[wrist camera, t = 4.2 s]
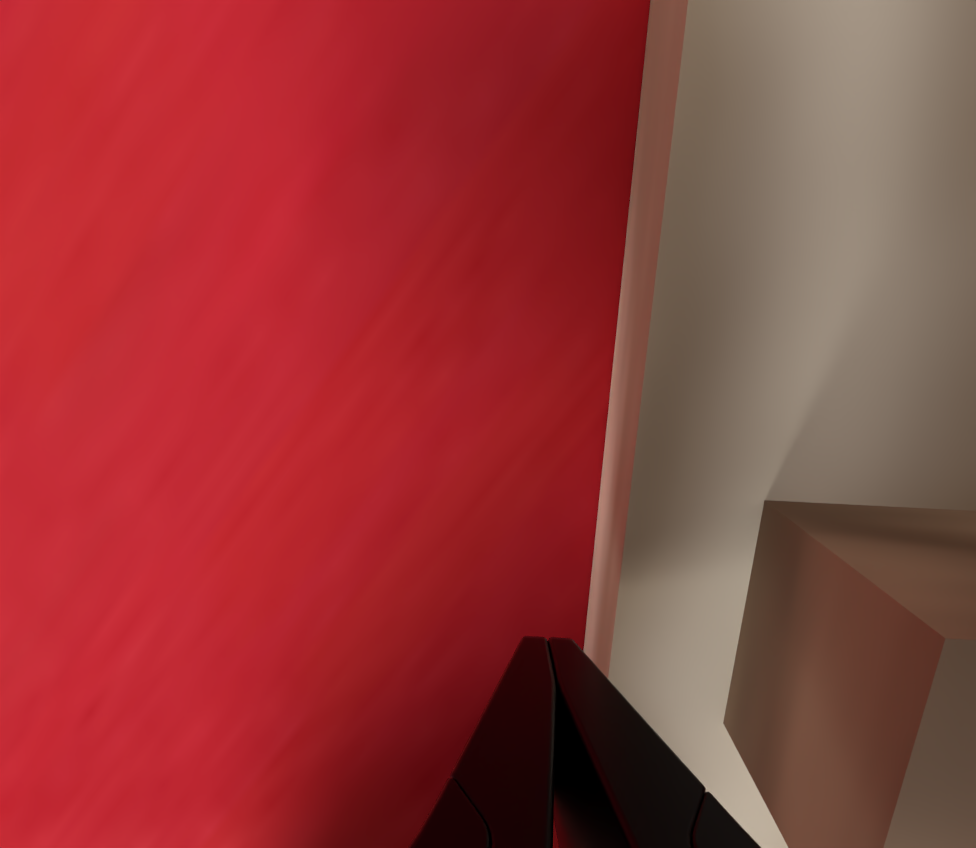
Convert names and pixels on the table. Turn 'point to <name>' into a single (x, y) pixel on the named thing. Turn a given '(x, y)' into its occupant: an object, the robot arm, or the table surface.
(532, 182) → the table surface
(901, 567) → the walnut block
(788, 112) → the board
